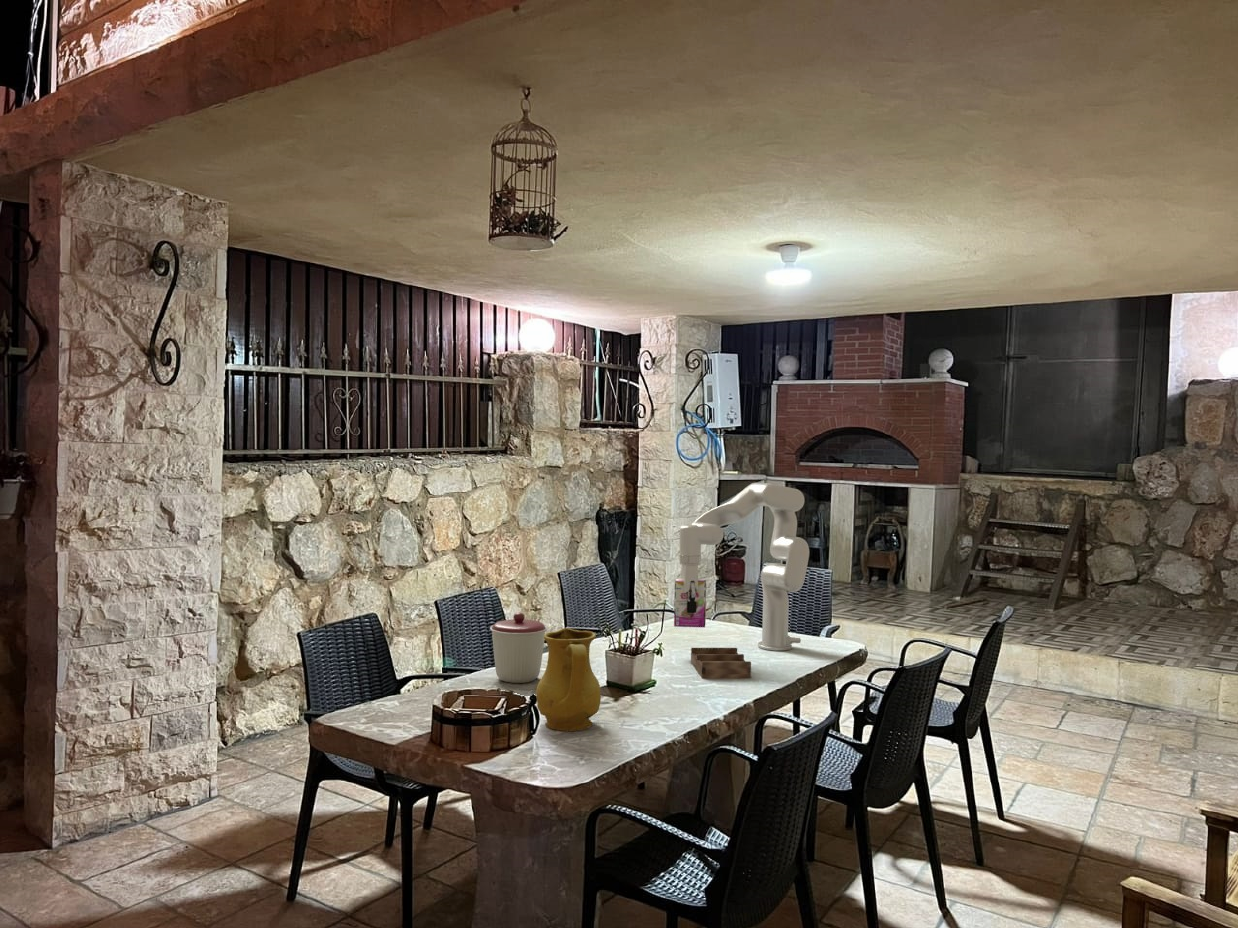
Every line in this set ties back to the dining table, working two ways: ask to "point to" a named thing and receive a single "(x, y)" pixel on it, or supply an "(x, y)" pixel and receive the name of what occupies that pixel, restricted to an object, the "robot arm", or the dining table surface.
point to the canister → (518, 648)
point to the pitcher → (568, 682)
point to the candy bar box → (681, 606)
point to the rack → (720, 663)
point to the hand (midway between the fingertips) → (690, 610)
